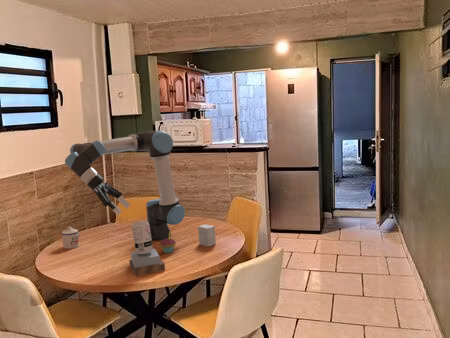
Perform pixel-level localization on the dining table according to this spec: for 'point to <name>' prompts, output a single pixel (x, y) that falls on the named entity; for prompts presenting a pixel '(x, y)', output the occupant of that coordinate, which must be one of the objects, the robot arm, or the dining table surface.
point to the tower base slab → (147, 268)
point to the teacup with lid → (70, 238)
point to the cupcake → (167, 244)
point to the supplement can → (142, 237)
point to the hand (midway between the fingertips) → (124, 209)
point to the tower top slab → (145, 259)
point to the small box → (206, 235)
